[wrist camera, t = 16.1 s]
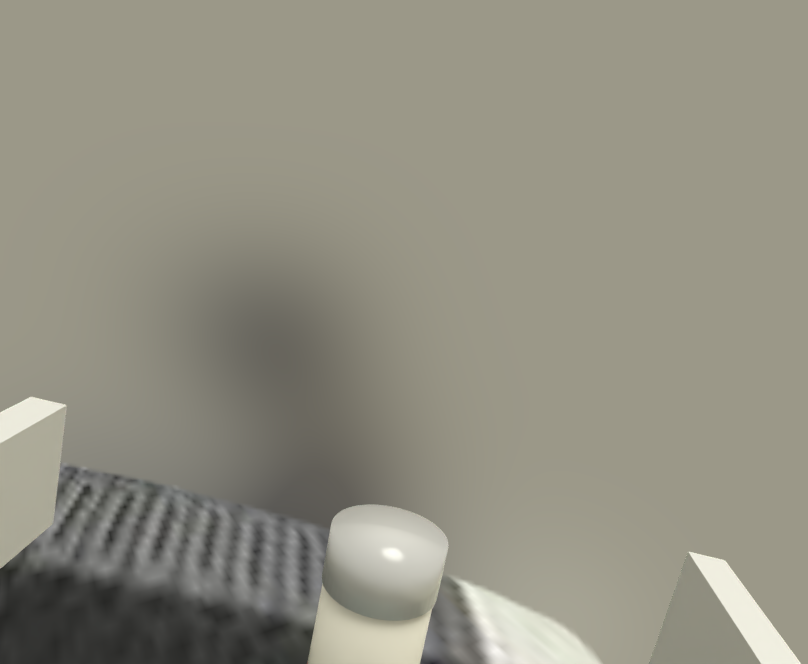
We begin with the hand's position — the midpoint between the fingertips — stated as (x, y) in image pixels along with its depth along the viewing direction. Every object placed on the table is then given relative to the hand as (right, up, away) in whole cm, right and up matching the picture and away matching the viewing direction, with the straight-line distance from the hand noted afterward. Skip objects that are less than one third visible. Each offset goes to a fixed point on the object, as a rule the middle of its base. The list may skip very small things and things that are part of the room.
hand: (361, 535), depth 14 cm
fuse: (-3, -19, +17) cm, 26 cm away
